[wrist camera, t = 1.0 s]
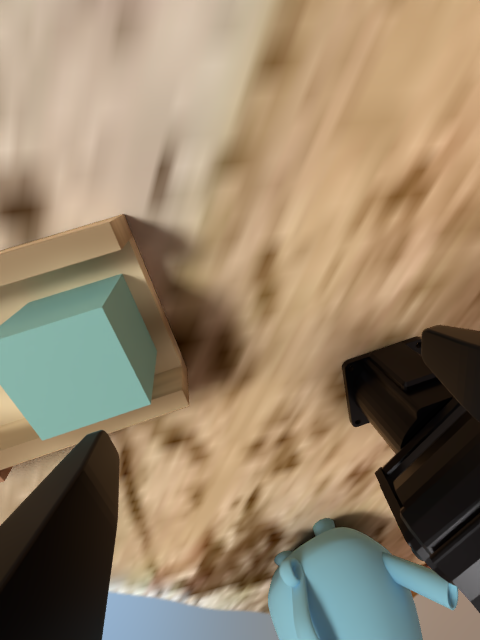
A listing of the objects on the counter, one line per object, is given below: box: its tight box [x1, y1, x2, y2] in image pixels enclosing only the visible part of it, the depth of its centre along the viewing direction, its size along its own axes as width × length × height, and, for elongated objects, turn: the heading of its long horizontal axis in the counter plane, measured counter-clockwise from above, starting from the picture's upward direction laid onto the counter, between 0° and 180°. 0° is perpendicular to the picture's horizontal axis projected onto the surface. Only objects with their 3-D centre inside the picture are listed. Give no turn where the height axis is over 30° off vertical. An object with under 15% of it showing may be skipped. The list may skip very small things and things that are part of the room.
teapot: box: [268, 518, 458, 640], centre depth 28 cm, size 15×14×11 cm
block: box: [0, 274, 157, 441], centre depth 15 cm, size 5×5×5 cm
